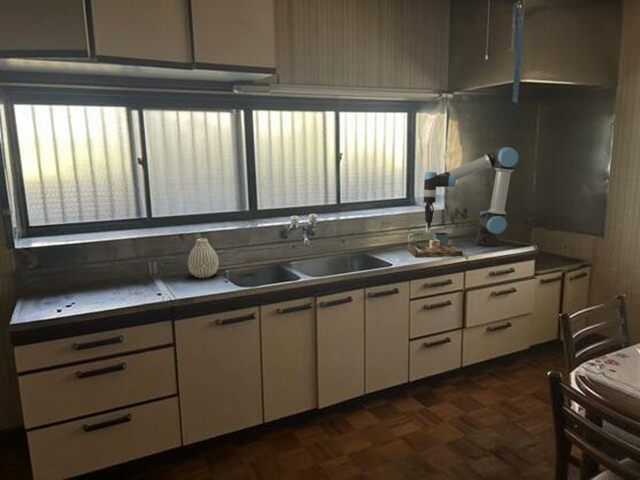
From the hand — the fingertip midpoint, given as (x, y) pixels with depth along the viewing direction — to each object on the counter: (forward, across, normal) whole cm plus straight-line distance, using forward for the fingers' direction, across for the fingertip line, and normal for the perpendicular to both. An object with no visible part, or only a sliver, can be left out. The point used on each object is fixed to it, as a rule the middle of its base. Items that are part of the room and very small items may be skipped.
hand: (428, 232), depth 316 cm
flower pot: (+11, -5, +11) cm, 16 cm away
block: (+8, +9, +2) cm, 13 cm away
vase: (+13, +52, -135) cm, 146 cm away
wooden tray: (+11, +14, 0) cm, 17 cm away
